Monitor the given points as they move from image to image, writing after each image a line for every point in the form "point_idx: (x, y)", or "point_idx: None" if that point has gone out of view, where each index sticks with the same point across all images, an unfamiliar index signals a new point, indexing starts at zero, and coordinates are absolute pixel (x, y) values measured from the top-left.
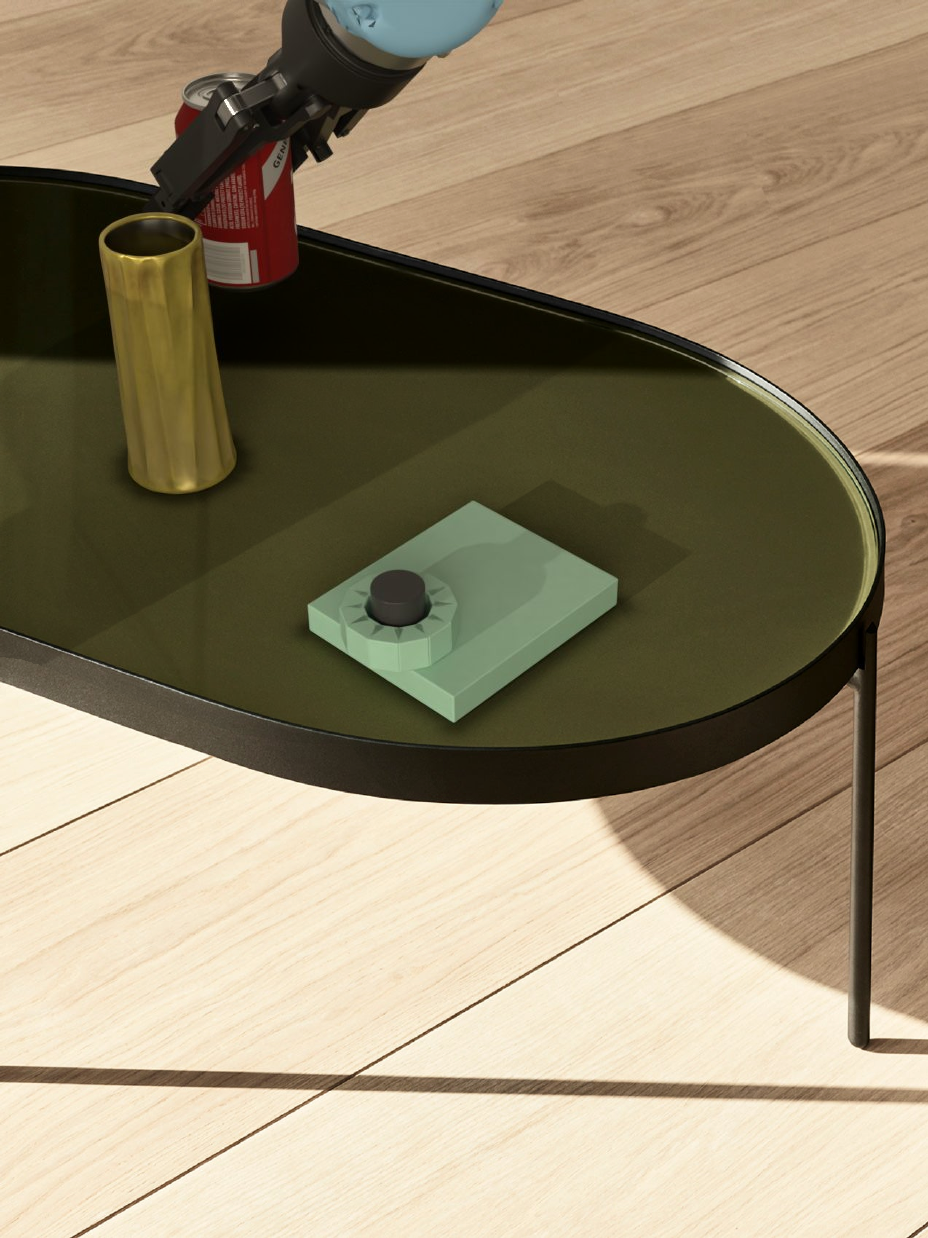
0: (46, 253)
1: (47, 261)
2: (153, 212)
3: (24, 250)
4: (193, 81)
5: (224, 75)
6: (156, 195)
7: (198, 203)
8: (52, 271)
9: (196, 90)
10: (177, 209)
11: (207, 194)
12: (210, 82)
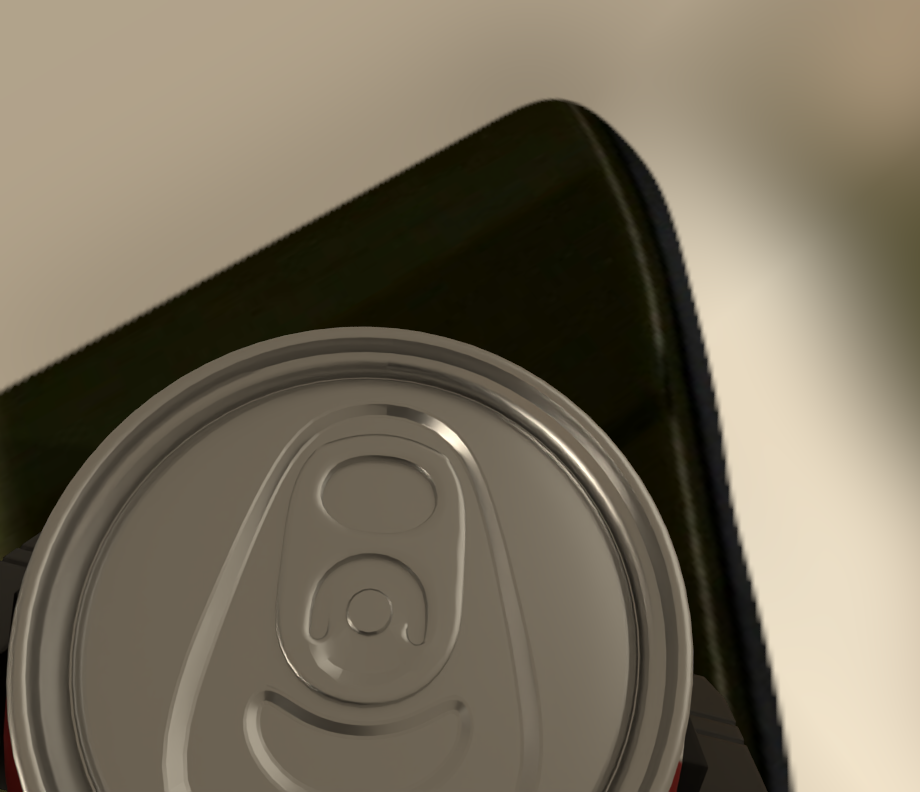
0: (382, 243)
1: (357, 259)
2: None
3: (373, 209)
4: (382, 340)
5: (571, 430)
6: (33, 538)
7: None
8: (329, 285)
9: (351, 391)
10: None
11: None
12: (485, 397)
